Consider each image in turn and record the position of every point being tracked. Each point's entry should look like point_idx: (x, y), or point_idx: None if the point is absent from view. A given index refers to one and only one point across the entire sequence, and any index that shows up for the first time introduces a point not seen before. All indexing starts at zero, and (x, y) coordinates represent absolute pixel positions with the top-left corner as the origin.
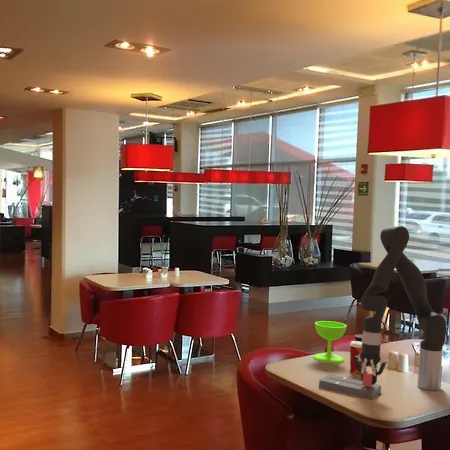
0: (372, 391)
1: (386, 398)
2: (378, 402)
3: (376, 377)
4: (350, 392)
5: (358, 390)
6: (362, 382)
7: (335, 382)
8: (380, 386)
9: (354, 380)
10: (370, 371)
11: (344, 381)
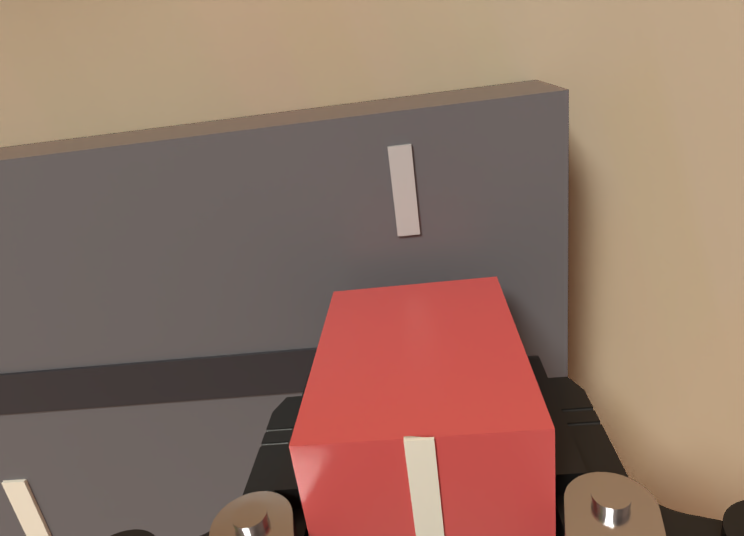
0: None
1: (694, 286)
2: (643, 485)
3: (609, 472)
4: None
5: None
6: (232, 222)
7: (3, 516)
8: (564, 131)
9: (75, 223)
10: (411, 481)
11: (37, 407)
